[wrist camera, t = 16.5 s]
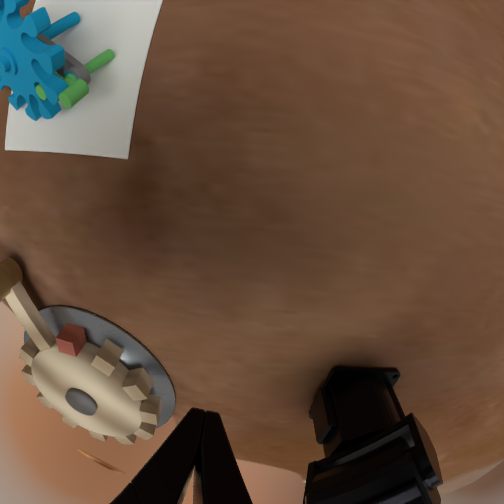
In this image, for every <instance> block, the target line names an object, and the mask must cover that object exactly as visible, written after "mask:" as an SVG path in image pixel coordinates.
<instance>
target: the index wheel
mask: <svg viewBox="0 0 504 504" xmlns="http://www.w3.org/2000/svg"><path fill="white" fill-rule="evenodd" d="M22 281H23V275H22V271H21V268H20V267H19V265H18V264H17V262H16V261H15V260H13V259H12V258H7V259H5V260H4V261H2V262H1V263H0V302H1V301H2V300H3V299H4V298H6V300H7V302H8V303H9V305H10V307H11V308H12V310H13V312H14V313H15V315H16V316H17V318H18V319H19V321H20V323H21V324H22V326H23V327H24V329H25V330H26V332H27V333H28V334H29V336H30V338H29V339H28V340H27V342H26V343H25V344H24V345H23V347H22V348H21V350H20V356H19V358H20V359H22V360H23V361H24V362H25V363H26V364H27V365H26V366H25V367H24V369H23V370H22V373H23V375H24V378H25V380H26V382H27V383H29V384H31V385H33V386H36V387H38V389H39V390H40V393H39V394H38V396H37V398H38V399H39V400H40V401H41V402H42V404H43V405H44V406H45V407H46V408H55V409H56V410H57V411H58V412H60V413H61V414H62V415H64V416H63V418H62V421H63V422H65V423H66V424H68V425H69V426H71V427H73V428H75V427H76V426H77V425H79V426H81V427H83V428H86V429H88V430H89V432H90V434H91V436H92V437H94V438H96V439H99V440H102V441H106V439H107V436H114V437H115V438H116V439H117V440H118V441H119V442H120V443H121V444H134V443H135V440H136V436H138V437H140V438H142V439H144V440H148V439H149V438H150V437H152V436H153V435H154V431H155V428H156V425H158V421H159V418H160V414H161V411H162V400H161V397H158V396H153V395H149V393H150V390H151V387H152V385H153V382H154V381H153V380H152V378H151V377H150V376H149V375H148V373H147V372H146V371H145V369H144V368H143V367H142V368H137V369H133V370H128V369H127V368H126V367H125V366H124V365H123V364H122V363H120V362H119V359H120V357H121V355H122V353H123V351H124V350H123V349H121V348H120V347H118V346H117V345H115V344H114V343H113V342H111V341H110V340H108V339H107V338H106V340H105V342H104V343H103V345H102V347H101V348H98V347H96V346H95V345H93V344H90V343H88V342H87V341H86V336H85V331H84V327H80V326H77V325H73V324H69V323H67V324H66V325H65V326H64V327H63V329H62V330H61V331H60V332H59V334H58V335H57V336H56V337H55V336H54V334H53V333H52V331H51V330H50V328H49V327H48V325H47V324H46V322H45V321H44V319H43V318H42V316H41V315H40V313H39V312H38V310H37V309H36V307H35V305H34V304H33V302H32V301H31V299H30V297H29V296H28V294H27V292H26V290H25V289H24V287H23V285H22Z"/></svg>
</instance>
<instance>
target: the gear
mask: <svg viewBox="0 0 504 504" xmlns="http://www.w3.org/2000/svg"><path fill="white" fill-rule="evenodd" d="M28 2H29V0H0V91H1V90H2V89H3V88H4V87H5V86H9V87H10V88H11V90H12V91H13V94H11V95H10V96H9V97H8V100H9V102H10V103H11V105H12V106H13V107H14V108H15V109H16V110H18V109H19V108H20V107H22V106H23V105H24V104H25V103H26V102H27V107H26V108H25V112H26V114H27V116H28V117H30V118H31V119H32V120H34V121H37V120H38V119H39V118H40V117H41V116H42V117H43V118H44V119H52V118H53V117H54V116H55V115H56V114H57V113H59V112H60V111H61V106H60V104H59V103H58V102H59V101H60V103H61V104H62V105H63V106H64V107H65V108H66V109H70V108H72V107H73V106H74V105H75V104H76V103H77V102H79V101H80V100H81V99H82V98H83V97H85V96H86V95H87V94H88V93H89V87H88V84H89V83H90V81H91V77H90V74H91V73H93V72H94V71H95V70H97V69H98V68H100V67H101V66H103V65H104V64H105V63H107V62H108V61H110V60H111V59H113V58H114V52H113V51H112V50H111V49H107V50H106V51H104V52H103V53H101V54H100V55H98V56H96V57H95V58H93V59H92V60H91V61H89V62H88V63H86V64H85V65H83V64H82V63H81V62H79V61H78V60H77V59H75V58H74V57H73V56H71V55H70V54H69V53H67V52H66V51H65V50H64V48H63V47H62V46H61V45H58V44H55V43H54V42H53V41H51V39H53V38H54V37H56V36H58V35H59V34H61V33H63V32H64V31H66V30H68V29H69V28H71V27H73V26H75V25H76V24H78V23H79V22H80V16H79V14H78V13H77V12H72V13H70V14H68V15H67V16H65V17H63V18H61V19H59V20H58V21H56V22H54V23H52V24H51V21H50V18H49V15H48V13H47V11H46V8H45V7H41V8H39V9H37V10H36V11H34V12H32V13H30V14H29V15H27V16H26V17H25V19H24V20H23V19H22V18H21V16H20V8H21V7H23V6H24V5H26V4H27V3H28ZM54 72H55V73H54ZM56 72H57V73H56ZM60 75H61V76H62V77H63V78H62V77H61V76H60Z"/></svg>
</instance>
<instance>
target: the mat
mask: <svg viewBox="0 0 504 504" xmlns="http://www.w3.org/2000/svg"><path fill="white" fill-rule="evenodd" d="M162 2H163V0H36V2H35V5H34V8H33V11H32V12H34V11H36V10H37V9H39V8H41V7H45V8H46V11H47V13H48V15H49V18H50V21H51V24H52V23H54V22H56V21H58V20H59V19H61V18H63V17H65V16H67V15H68V14H70V13H72V12H77V13H78V14H79V16H80V22H79V23H78V24H76V25H75V26H73V27H71V28H69V29H68V30H66V31H64V32H63V33H61V34H59V35H58V36H56V37H54V38H53V39H51V41H53V42H54V43H55V44H58V45H61V46H62V47H63V48H64V50H65V51H66V52H67V53H69V54H70V55H71V56H73V57H74V58H75V59H77V60H78V61H79V62H81V63H82V64H83V65H85V64H86V63H88V62H89V61H91V60H92V59H93V58H95V57H96V56H98V55H100V54H101V53H103V52H104V51H106V50H107V49H111V50H112V51H113V52H114V58H113V59H111V60H110V61H108V62H107V63H105V64H104V65H103V66H101V67H100V68H98V69H97V70H95V71H94V72H93V73H91V74H90V77H91V81H90V83H89V84H88V87H89V93H88V94H87V95H86V96H85V97H83V98H82V99H81V100H80V101H79V102H77V103H76V104H75V105H74V106H73V107H72V108H70V109H66V108H65V107H64V106H63V105H62V104H61V103H60V101H59V102H58V103H59V104H60V106H61V111H60V112H59V113H57V114H56V115H55V116H54V117H53V118H52V119H44V118H43V117H42V116H41V117H40V118H39V119H38V120H37V121H34V120H32V119H31V118H30V117H28V116H27V114H26V112H25V108H26V107H27V102H26V103H25V104H24V105H23V106H22V107H20V108H19V109H18V110H16V109H15V108H14V107H13V106H12V105H11V103H9V110H8V118H7V127H6V139H5V150H20V151H41V152H57V153H70V154H82V155H93V156H103V157H112V158H121V159H128V157H129V149H130V142H131V135H132V128H133V122H134V116H135V111H136V105H137V100H138V95H139V90H140V85H141V80H142V75H143V71H144V67H145V62H146V58H147V54H148V50H149V46H150V43H151V39H152V35H153V32H154V28H155V25H156V21H157V18H158V15H159V12H160V8H161V5H162ZM54 73H55V72H54ZM56 73H57V72H56ZM60 76H61V75H60ZM61 77H62V76H61ZM62 78H63V77H62ZM11 94H13V91H11Z"/></svg>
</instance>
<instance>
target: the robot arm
mask: <svg viewBox="0 0 504 504" xmlns="http://www.w3.org/2000/svg"><path fill="white" fill-rule="evenodd" d="M337 372H339V373H337ZM399 377H400V372H399V370H397V369H373V368H354V367H335V368H333V369H332V370H331V372H330V374H329V376H328V378H327V380H326V382H325V384H324V386H323V387H322V388H321V389H320V390H319V392H318V394H317V396H316V398H315V400H314V402H313V404H312V405H311V410H310V412H309V417H310V418H311V419H313V422H314V428H315V434H316V440H317V443H318V444H323V448H324V453H325V458H324V459H321V460H319V461H314V462H311V463H309V464H308V472H307V479H306V486H305V492H304V499H303V504H441V498H440V495H439V492H438V490H437V487H438V486H440V485H442V484H443V480H442V476H441V471H440V467H439V463H438V458H437V454H436V451H435V449H434V447H433V444H432V442H431V440H430V438H429V436H428V434H427V432H426V430H425V429H424V428H423V426H422V425H421V424H420V422H419V421H418V420H417V418H416V417H415V416H414V414H413V413H410V414H409V415H407V416H406V417H405V415H404V412H403V410H402V408H401V406H400V403H399V401H398V399H397V396H396V394H395V392H394V390H393V386H394V385H395V383H396V382H397V380H398V378H399ZM194 465H195V467H194ZM193 470H194V483H193V484H194V485H193V504H253V503H252V501H251V498H250V496H249V493H248V491H247V489H246V486H245V483H244V481H243V478H242V476H241V473H240V470H239V468H238V465H237V462H236V460H235V457H234V454H233V451H232V449H231V446H230V443H229V440H228V437H227V434H226V431H225V428H224V426H223V423H222V420H221V417H220V414H219V413H217V412H213V411H206V412H205V410H203V409H199V408H194V407H193V408H191V409H190V410H189V412H188V413H187V414H186V415H185V417H184V418H183V419H182V420H181V422H180V423H179V424H178V425H177V427H176V428H175V429H174V430H173V432H172V433H171V434H170V435H169V436H168V438H167V439H166V440H165V441H164V443H163V444H162V445H161V446H160V448H159V449H158V450H157V451H156V452H155V453H154V455H153V456H152V457H151V458H150V459H149V461H148V462H147V463H146V464H145V465H144V467H143V468H142V469H141V470H140V471H139V472H138V474H137V475H136V476H135V477H134V478H133V479H132V481H131V483H129V484H128V485H127V486H126V487H125V488H124V490H123V491H122V492H121V493H120V494H119V495H118V496H117V497H116V498H115V499H114V500H113V501H112V502H111V503H110V504H182V502H183V500H184V497H185V494H186V491H187V488H188V485H189V482H190V479H191V476H192V473H193Z"/></svg>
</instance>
